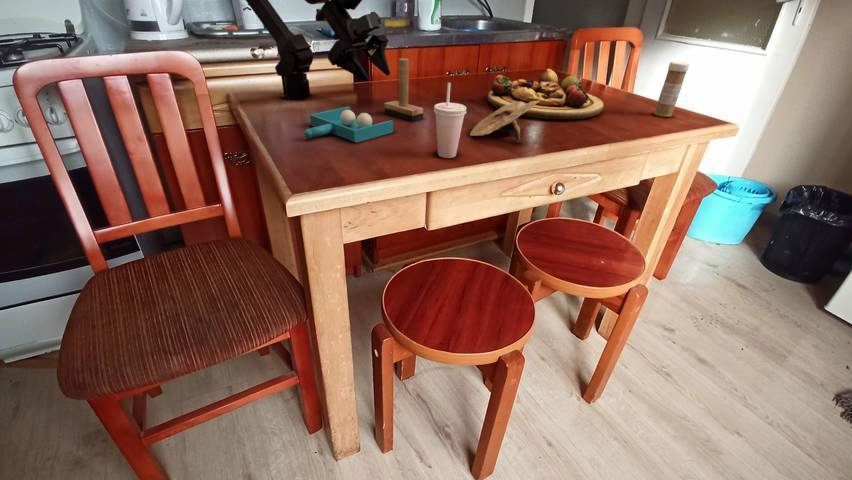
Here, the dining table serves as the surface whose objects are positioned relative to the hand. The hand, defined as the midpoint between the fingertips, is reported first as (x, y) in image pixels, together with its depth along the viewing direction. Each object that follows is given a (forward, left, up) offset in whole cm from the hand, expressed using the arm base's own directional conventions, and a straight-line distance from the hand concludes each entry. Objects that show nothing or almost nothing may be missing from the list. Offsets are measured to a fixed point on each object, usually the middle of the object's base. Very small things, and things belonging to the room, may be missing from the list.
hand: (378, 77), depth 114 cm
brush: (+7, -2, -8) cm, 11 cm away
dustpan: (-3, -20, -8) cm, 22 cm away
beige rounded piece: (-2, -14, -7) cm, 16 cm away
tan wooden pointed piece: (+32, -11, -9) cm, 35 cm away
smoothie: (+23, -27, -9) cm, 37 cm away
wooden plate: (+42, +21, -9) cm, 48 cm away
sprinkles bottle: (+74, +22, -9) cm, 78 cm away
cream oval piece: (+2, -16, -8) cm, 18 cm away
